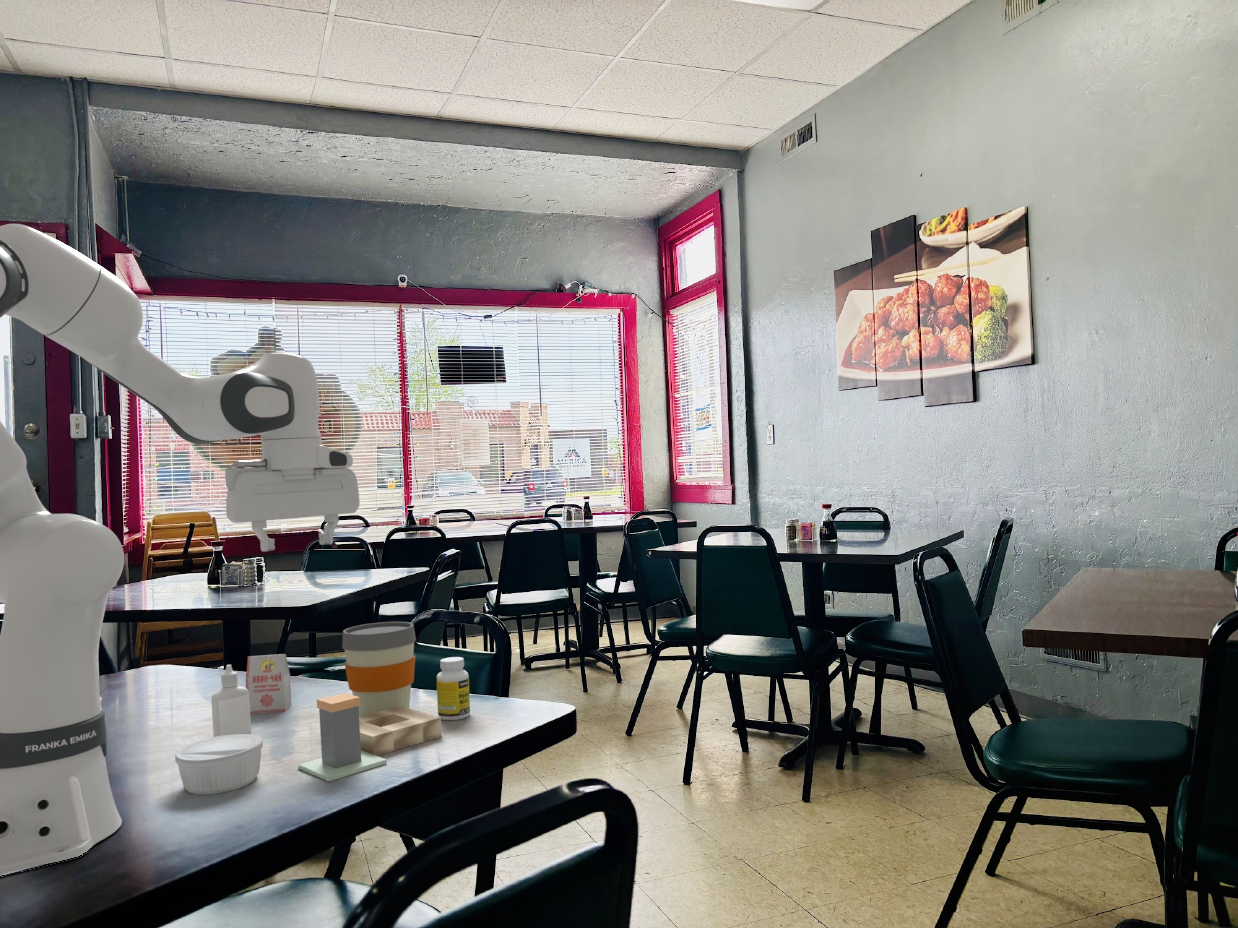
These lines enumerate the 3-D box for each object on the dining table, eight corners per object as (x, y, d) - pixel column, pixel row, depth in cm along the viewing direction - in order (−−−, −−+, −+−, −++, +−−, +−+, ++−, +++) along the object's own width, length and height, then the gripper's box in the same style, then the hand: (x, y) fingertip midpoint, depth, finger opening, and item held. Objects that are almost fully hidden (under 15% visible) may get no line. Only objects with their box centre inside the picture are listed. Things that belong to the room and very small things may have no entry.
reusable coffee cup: (430, 703, 162) (426, 620, 162) (402, 723, 150) (397, 633, 150) (366, 703, 165) (361, 622, 165) (332, 723, 152) (327, 635, 152)
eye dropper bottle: (250, 739, 145) (246, 665, 145) (212, 744, 144) (208, 669, 144) (252, 732, 150) (248, 660, 150) (215, 737, 148) (211, 664, 148)
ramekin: (181, 805, 117) (179, 764, 117) (172, 782, 126) (170, 744, 126) (272, 785, 123) (270, 746, 123) (257, 764, 132) (255, 728, 132)
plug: (335, 769, 126) (331, 703, 126) (320, 763, 129) (316, 699, 129) (363, 760, 129) (359, 697, 129) (348, 755, 132) (344, 692, 132)
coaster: (328, 781, 123) (328, 777, 123) (298, 768, 129) (298, 764, 129) (386, 763, 129) (386, 759, 129) (355, 751, 135) (355, 747, 135)
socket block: (373, 756, 133) (372, 736, 133) (334, 742, 141) (333, 723, 141) (441, 736, 141) (440, 717, 141) (400, 723, 150) (399, 705, 150)
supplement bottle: (463, 721, 149) (460, 662, 149) (433, 721, 150) (430, 662, 150) (475, 712, 155) (472, 655, 155) (445, 712, 156) (442, 655, 156)
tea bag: (254, 708, 166) (251, 654, 166) (291, 705, 166) (288, 652, 166) (247, 713, 162) (244, 658, 162) (285, 711, 163) (282, 656, 163)
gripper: (233, 460, 129) (238, 555, 129) (361, 455, 144) (366, 541, 144) (216, 461, 134) (221, 554, 134) (342, 457, 148) (347, 540, 148)
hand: (297, 547), depth 139 cm, fingers open, 8 cm apart
